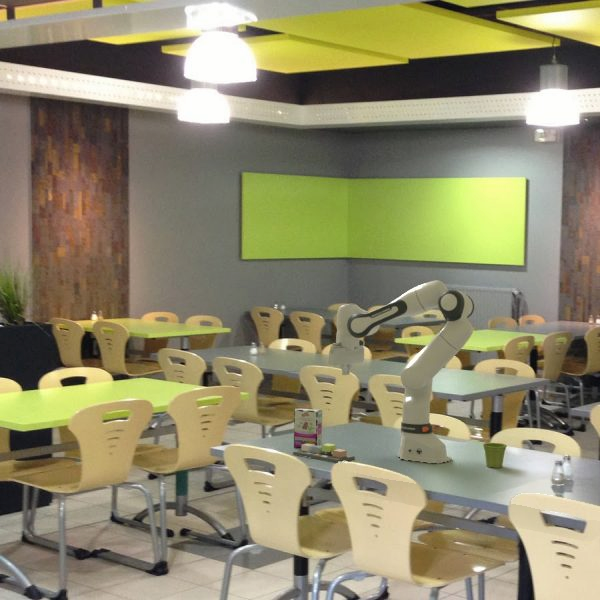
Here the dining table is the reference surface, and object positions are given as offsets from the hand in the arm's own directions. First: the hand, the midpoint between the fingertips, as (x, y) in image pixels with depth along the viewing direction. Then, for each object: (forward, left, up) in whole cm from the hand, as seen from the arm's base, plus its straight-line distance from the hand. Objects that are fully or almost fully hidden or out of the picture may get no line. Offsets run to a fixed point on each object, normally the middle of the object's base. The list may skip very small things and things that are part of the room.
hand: (345, 374), depth 470 cm
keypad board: (-6, +21, -31) cm, 38 cm away
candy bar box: (+11, +11, -31) cm, 35 cm away
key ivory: (+2, +21, -31) cm, 37 cm away
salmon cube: (-14, +21, -31) cm, 40 cm away
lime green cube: (-9, +21, -29) cm, 37 cm away
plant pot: (-65, -13, -31) cm, 73 cm away
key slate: (-3, +21, -31) cm, 37 cm away
